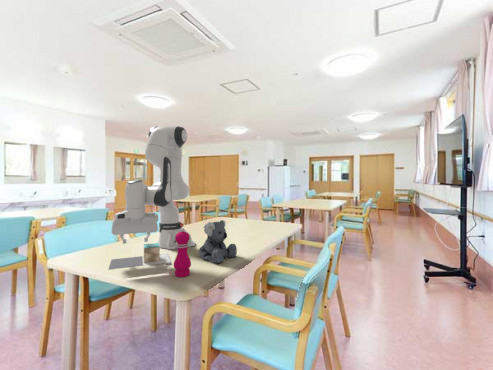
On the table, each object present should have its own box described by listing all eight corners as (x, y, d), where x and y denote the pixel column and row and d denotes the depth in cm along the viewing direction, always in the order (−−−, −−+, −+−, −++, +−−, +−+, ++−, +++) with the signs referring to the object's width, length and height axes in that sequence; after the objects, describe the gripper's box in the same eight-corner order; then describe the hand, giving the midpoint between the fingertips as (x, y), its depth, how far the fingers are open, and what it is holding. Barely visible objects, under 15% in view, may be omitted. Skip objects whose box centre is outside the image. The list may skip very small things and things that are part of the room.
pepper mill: (175, 271, 112) (175, 226, 111) (192, 271, 112) (192, 226, 112) (172, 278, 104) (172, 229, 104) (189, 277, 105) (189, 229, 104)
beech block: (143, 244, 126) (143, 258, 126) (144, 247, 120) (143, 262, 120) (158, 243, 129) (158, 256, 129) (159, 246, 123) (159, 260, 123)
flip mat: (167, 255, 135) (167, 253, 135) (171, 264, 121) (171, 262, 121) (111, 261, 124) (111, 259, 124) (108, 271, 111) (108, 269, 111)
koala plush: (218, 265, 120) (218, 224, 119) (191, 258, 130) (191, 220, 129) (239, 256, 134) (239, 219, 134) (213, 250, 144) (213, 216, 144)
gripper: (157, 211, 128) (157, 238, 129) (112, 213, 120) (112, 242, 121) (158, 213, 122) (158, 241, 123) (110, 215, 114) (111, 246, 115)
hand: (135, 242), depth 122 cm, fingers open, 8 cm apart
